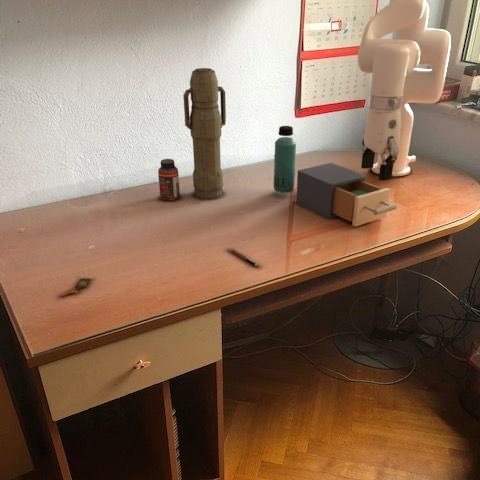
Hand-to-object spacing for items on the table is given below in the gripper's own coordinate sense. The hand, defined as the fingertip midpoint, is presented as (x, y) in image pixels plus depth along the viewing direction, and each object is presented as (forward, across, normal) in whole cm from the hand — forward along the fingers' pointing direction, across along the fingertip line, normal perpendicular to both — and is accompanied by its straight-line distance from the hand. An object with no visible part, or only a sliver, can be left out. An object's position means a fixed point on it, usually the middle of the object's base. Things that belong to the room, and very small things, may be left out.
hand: (375, 173), depth 136 cm
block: (+12, +4, +2) cm, 13 cm away
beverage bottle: (+14, +28, +15) cm, 35 cm away
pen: (+14, -10, +38) cm, 42 cm away
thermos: (+14, +34, +37) cm, 52 cm away
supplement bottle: (+14, +34, +49) cm, 61 cm away
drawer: (+13, +3, +1) cm, 13 cm away
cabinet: (+14, +15, +5) cm, 21 cm away
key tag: (+14, -14, +77) cm, 79 cm away
